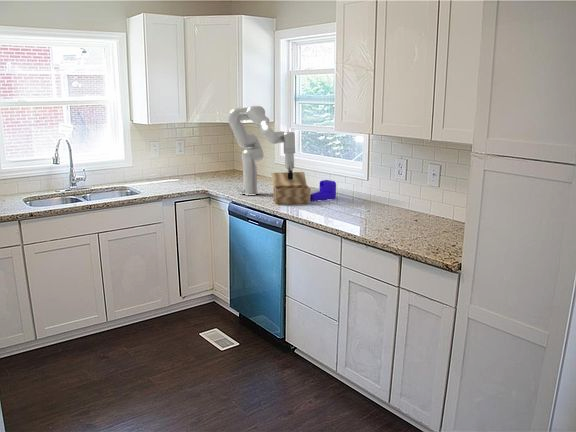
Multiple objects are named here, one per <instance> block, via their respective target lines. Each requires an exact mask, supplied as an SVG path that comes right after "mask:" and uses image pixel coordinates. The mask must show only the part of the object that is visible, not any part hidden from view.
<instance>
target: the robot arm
mask: <svg viewBox="0 0 576 432" xmlns="http://www.w3.org/2000/svg"><path fill="white" fill-rule="evenodd" d="M248 120H251V122H253V123H254V124H255V125H256V126H257V127H258V128H259V129H260V132H261V135H262V136H263V137H264V139H266V141H268V142H269V143H271V144H273V145H274V144H275V145H277V144H283V154H284V167H285V169H287V172H288V179H293V171H294V170H293V169H294V168H295V154H296V135H295V132H294V131H274V130H273V129H272V128H271V127H270V126H269V124H270V119H269V117H268V116H267V115H266V110H265V108H264V107H263V106H261V105H252V106H249V107H235V108H233V109H231V110H230V111H229V113H228V116H227V122H228V125H229V126H230V129H231V131H232V132H233V135H234V137H235V140H236V142H237V144H238V146H239V148H242V149H244V150H243V151H242V153H241V161H242V172H243V174H242V175H243V178H242V179H243V180H242V181H243V187H241V188H236V192H239V193H242V194H259V193H260V192H259V191H258V168H257V165H256V162H260V161H262V160H263V159H264V151H263V148H262V146H261V143H260V141H259V139H258V137H257V135H256V134H254V133H252V132H251V133H248V132H247V129H246V127H245V125H244V124H243V123H242V122H241V121H248ZM245 148H247V149H245ZM258 192H259V193H258ZM242 194H241V195H242ZM259 195H260V194H259Z"/></svg>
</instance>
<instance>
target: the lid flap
mask: <svg viewBox="0 0 576 432" xmlns="http://www.w3.org/2000/svg"><path fill="white" fill-rule="evenodd" d="M305 174H306V173H305V172H304V171H299V172H298V171H295V172H293V179H288V171H287V172H271V179H272V186H290V185H307V179H306V175H305ZM307 186H308V185H307Z"/></svg>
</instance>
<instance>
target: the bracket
mask: <svg viewBox="0 0 576 432" xmlns="http://www.w3.org/2000/svg"><path fill="white" fill-rule="evenodd" d="M334 198H336V199H337V183H336V181H335V180H330V179H329V180H328V179H322V180H320V181H319V190H318V191H316V192H314V193H310V202H319V201H318V200H322V201H328V200H327V199H332V200H335V199H334Z"/></svg>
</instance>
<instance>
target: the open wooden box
mask: <svg viewBox="0 0 576 432" xmlns="http://www.w3.org/2000/svg"><path fill="white" fill-rule="evenodd" d="M272 186H273V185H272ZM272 192H273V203H274V202H275V203H274V204H275V205H276V204H287V205H310V204H311V201H310V194H311V187H309V185H290V186H273V191H272Z"/></svg>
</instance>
